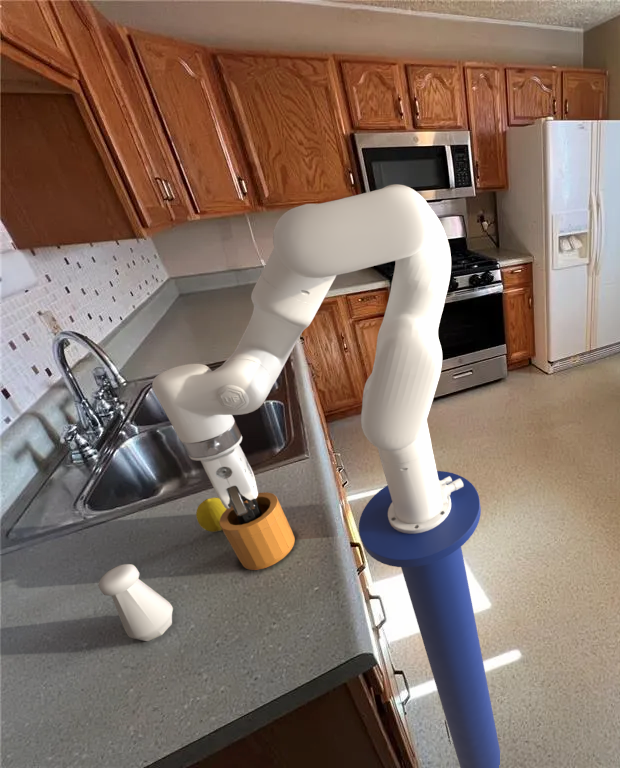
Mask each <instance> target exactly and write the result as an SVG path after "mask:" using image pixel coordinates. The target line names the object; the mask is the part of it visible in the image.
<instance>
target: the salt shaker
mask: <svg viewBox="0 0 620 768" xmlns="http://www.w3.org/2000/svg"><path fill="white" fill-rule="evenodd" d="M139 577H140V572H139V570H138V568H137V567H136V566H135V565H134V564H132V563H131V564H130V563H124V564H119V565H117V566H115V567H113V568H111V569H109V570H108V571H107V572H105V573H104V574H103V575H102V576H101V578H100V579H99V581H98V584H97V586H98V589H99V591H100V592H101V593H102V594H103V595H104V596H109V597H111V599H112V601H113V603H114V606H115V608H116V612H117V614H118V616H119V619H120V622H121V623H122V626H123V629H124V632H125V633H126V635H127V636H128V638H131V639H135V640H140V641H145V642H149V641H151V640H154V639H156V638H159V637H161V636H163V634H164V633H166V631H167V630H168V629H169V628H170V627H171V626H172V625H173V611H174V607H173V605H172V604H171V602H169V601H168V600H167V599H166V598H164V597H163V596H162V595H161V594H159V593H158V592H157V591H156V590H154V589H153V588H151V586H149V585H148V584H146V583H145V582H144V581H142V580H141V579H140V578H139Z"/></svg>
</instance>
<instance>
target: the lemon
mask: <svg viewBox="0 0 620 768" xmlns="http://www.w3.org/2000/svg"><path fill="white" fill-rule="evenodd" d="M226 509H227V508H225V507H224V505H223V504H222V502H221V500H220V499H219V497H210V498H206V499H204V500H203V501H202V502H201V503H200V504H199V505H198V507H197V508H196V511H195V516H196V520H197V523H198V525H199V526H200V527H201V528H202V529H203V530H205V531H207V532H211V533H216V532H220V531H223V530H222V528H221V526H220V521H219V520H220V518H221V516H222V514H223V513H224V512H225V510H226Z"/></svg>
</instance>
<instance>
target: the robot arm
mask: <svg viewBox="0 0 620 768" xmlns="http://www.w3.org/2000/svg"><path fill="white" fill-rule="evenodd" d="M272 243H273V249H272V251H271V253H270V255H269V257H268V259H267V261H266V263H265V265H264V267H263V269H262V271H261V273H260V275H259V277H258V279H257V281H256V282H255V285H254V287H253V289H252V290H251V296H250V299H251V301H252V305H253V310H252V313H251V317H250V319H249V322H248V324H247V326H246V328H245V330H244V333H243V334H242V336H241V338H240V340H239V342H238V344H237V346H236V348H235V349H234V351H233V352H232V354H230V356H229V357H228V358H226V360H225V361H224V362H223V364H222V365H220V366H219V367H217V368H216V369H214V370H212V369H211V368H210V367H209V366H207V365H206V364H203V363H186V364H182V365H181V364H180V365H178V366H174V367H171V368H168V369H166V370H164V371H162V372H160V373H158V375H156V376H155V377H154V378H153V380H152V383H151V386H152V390H153V392H154V394H155V396H156V398H157V400H158V403H159V405H161V407H162V409H163V412H164V413H165V415H166V417H167V419H168V420H169V423H170V424H171V426H172V428H173V430H174V432H175V434H176V435H177V437H178V439H179V441H180V443H181V444H182V447H183V449H184V450H185V452H186V455H187V456H188V457H189V459H190V460H192V461H199V462H200V463H201V465H202V467H203V469H204V471H205V473H206V475H207V477H208V479H209V481H210V483H211V485H212V487H213V490H214V491H215V493H216V495H217V498H219V499H220V500H221V502H222V504H223V505H224V507H225V508H227V509H230V508H231V505H232V507H233V509H234V511H235V513H236V516H237V518H238V520H239V522H240V524H241V525H242V524H246V523H249V522H251V521H254V520H256V519H257V518H259V517H261V515H262V512H261V510H260V508H259V505H258V503H257V501H256V498H257V496H258V493H259V491H258V487H257V486H258V485H257V482H256V478H255V474H254V471H253V468H252V467H251V465H250V463H249V460H248V459H247V457H246V454H245V453H244V451H243V449H242V447H241V445H240V444H241V443H242V441H243V436H242V434H241V431H240V429H239V427H238V425H237V422H236V420H235V418H234V416H238V415H247V414H249V413H253V412H255V411H256V410H258V409H259V408H261V407H262V406H263V404H264V403H265V401H266V399H267V397H268V396H269V394H270V392H271V390H272V388H273V386H274V385H275V383H276V381H278V378H279V376H280V374H281V372H282V370H283V369H284V367H285V364H286V363H287V361H288V359H289V357H290V356H291V354H292V352H293V349H294V348H295V346H296V344H297V342H298V340H299V338H300V337H301V335H302V333H303V332H304V330H305V329H307V328H308V327H309V326H310V325H311V323H312V321H313V320H314V318H315V317H316V314H317V312H318V310H319V309H320V307H321V305H322V304H323V302H324V300H325V297H326V296H327V294H328V292H329V290H330V288H331V286H332V285H333V283H334V281H335V279H336V278H337V276H339V275H345V274H348V273H353V272H357V271H360V270H364V269H368V268H371V267H374V266H380V265H384V264H387V263H391V262H395V265H394V270H393V276H392V280H391V286H390V292H389V295H388V301H387V304H386V308H385V312H384V316H383V318H382V321H381V325H380V327H379V330H378V333H377V336H376V337H377V338H376V347H375V356H374V360H373V361H374V362H373V367H372V371H371V374H369V376H368V378H367V379H366V382H365V384H364V388H363V393H362V402H361V403H362V404H361V414H360V426H361V430H362V433H363V435H364V437H365V438H366V439H367V441H368V442H369V443H370V444H371V445H372V446H374V447H375V448H377V452H378V455H379V459H380V462H381V466H382V469H383V470H382V471H383V473H384V478H385V480H386V484H387V485H388V488H389V491H390V495H391V499H392V503H391V505H390V507H389V510H388V519H389V522H390V524H391V526H392V527H393V528H394V529H396V530H397V531H399V532H402V533H408V534H416V533H422V532H425V531H428V530H430V529H433V528H434V527H436V526H438V525H439V524H440V523H441V522H443V521H444V520H445V518H446V517H447V516H448V514H449V512H450V509H451V499H450V496H449V495H451V492H453V491H455V490H458V489H460V488H462V487H463V486H464V485H463V482H462V480H461V479H460V478H459V479H457V480H455V481H453V482H452V479H451V477H450V476H448V477H446V478H444V479H443V480H441V481H440V480H438V475H437V471H438V470H437V465H436V460H435V456H434V451H433V450H434V449H433V446H432V440H431V435H430V429H429V425H428V418H429V413H430V410H431V407H432V404H433V401H434V397H435V394H436V391H437V387H438V384H439V380H440V377H441V373H442V366H443V350H442V345H441V342H440V339H439V327H440V323H441V318H442V314H443V311H444V307H445V302H446V297H447V293H448V290H449V285H450V280H451V272H452V256H451V247H450V243H449V240H448V237H447V235H446V232H445V228H444V226H443V225H442V222H441V220H440V219H439V217H438V216H437V214H436V213H435V211H434V210H433V209H432V208H431V206H430V205H429V203H428V202H427V200H426V199H425V198H424V196H422V195H421V194H420V193H419V192H418V191H416V190H415V189H413V188H411V187H409V186H407V185H404V184H400V183H399V184H388V185H386V186H384V187H382V188H379V189H375V190H372V191H367V192H363V193H359V194H356V195H352V196H348V197H343V198H339V199H335V200H331V201H330V200H329V201H326V202H321V203H305V204H302V205H299V206H296V207H293V208H290V209H288V210H287V211H285V212H284V213H283V214H282V215H281V216H280V217H279V218H278V220H277V222H276V223H275V226H274V229H273V233H272ZM451 482H452V483H451ZM449 483H450V484H449ZM447 484H448V485H447ZM244 501H247V502H248V503H244Z"/></svg>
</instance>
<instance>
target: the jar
mask: <svg viewBox="0 0 620 768" xmlns="http://www.w3.org/2000/svg"><path fill="white" fill-rule="evenodd" d="M256 501H257V503H258V505H259V508H260V510H261V512H262V515H261V517H259V518H257V519H256V520H254V521H251V522H249V523H246V524H242V525H241V524H240V522H239V520H238V518H237V516H236V513H235V511H234V509H233V507H232V505H231V508H230V509H226V510H225V512H224V513H223V514H222V516H221V518H220V520H219V521H220V526H221V528H222V530H221V531H222V532H223V534H224V535H225V537H226V539H227V541H228V543H229V545H230V547H231V548H232V550H233V552H234V554H235V555H236V557H237V559H238V560H239V563H240V564H241V565H242V567H243V568H245V569H247V570H250V571H257V570H258V571H259V570H263V569H266V568H269V567H272V566H273V565H275V564H277V563H279V562H280V561H282V560H283V559H284V558H285V557H286V556H287V555H289V553H290V552H291V551H292V549H293V547H294V546H295V543H296V542H295V539H296V538H295V535H294V532H293V530H292V528H291V525H290V523H289V521H288V518H287V517H286V516H287V515H286V514H285V512H284V510H283V508H282V506H281V503H280V501H279V499H278V497H277V495H275V493H272V492H267V491H266V492H264V491H263V492H258V496H257V498H256Z"/></svg>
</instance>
